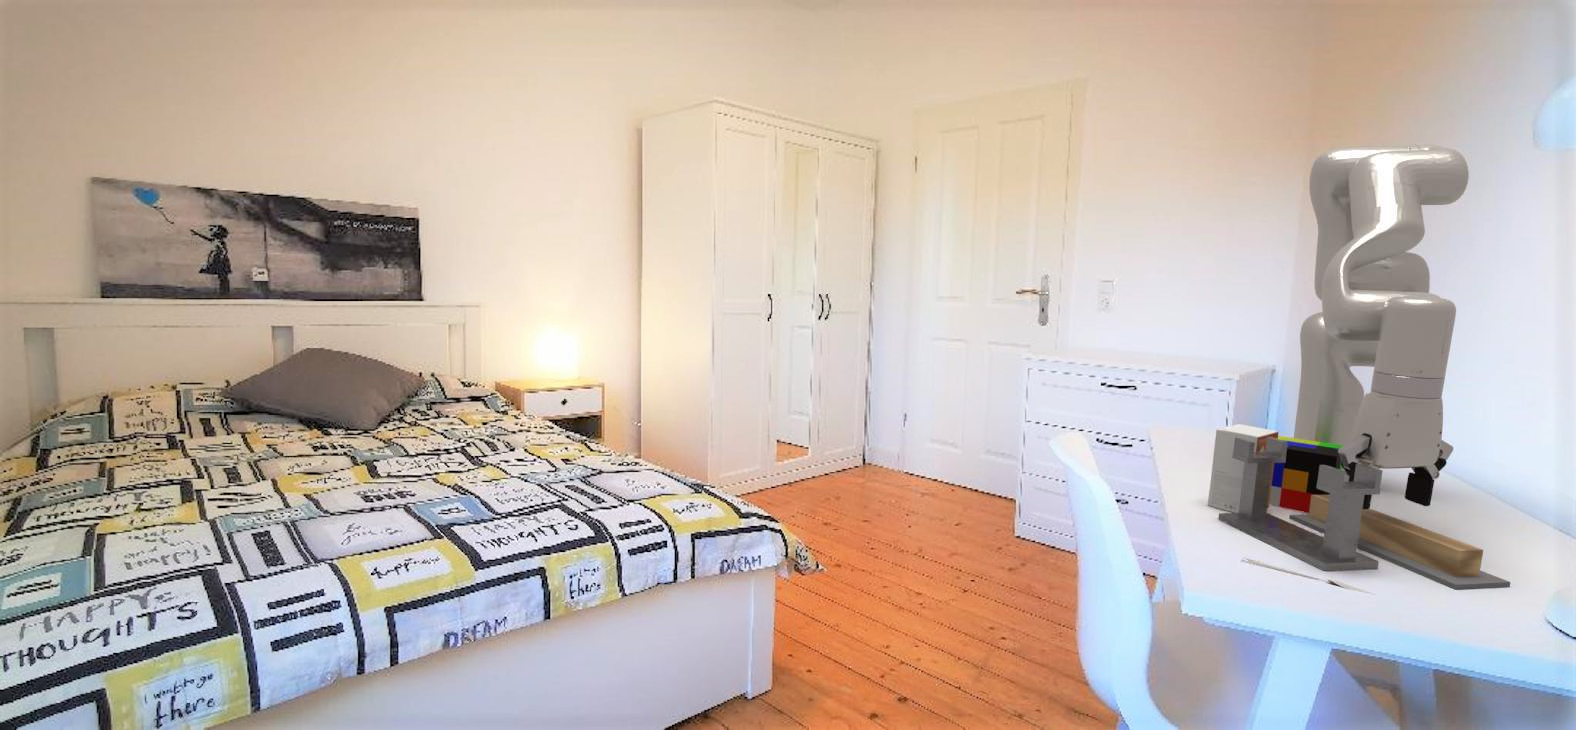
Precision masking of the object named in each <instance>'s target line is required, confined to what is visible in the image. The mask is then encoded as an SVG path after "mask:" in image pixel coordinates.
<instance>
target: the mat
mask: <svg viewBox="0 0 1576 730" xmlns="http://www.w3.org/2000/svg"><path fill="white" fill-rule="evenodd" d="M1288 519H1290V520H1291V521H1292V520H1293V521H1294V522H1296V523H1299V524H1302V525H1304V526H1306V527H1308V528H1310V529H1313V530H1315V531H1318V532H1319V533H1322V534H1325V528H1326V524H1325V523H1323V522H1320V521H1318V520H1316V519H1313V518H1311V517H1309V513H1305V514H1289V518H1288ZM1357 549H1359V550H1362V551H1365V552H1367V553H1369V554H1372V555H1374V556H1376V557H1379V558H1381V559H1383V560H1386V561H1388V562H1391V563H1393V564H1395V565H1396V566H1400V567H1402V568H1404V569H1407V570H1409V571H1411V572H1414V573H1416V574H1419V575H1421V576H1423V577H1425V578H1427V579H1430V580H1433V581H1435V582H1438V583H1439V582H1440V583H1439V584H1442V585H1444V586H1447V587H1449V588H1451V589H1453V590H1468V589H1471V588H1472V589H1487V588H1488V589H1489V588H1505V587H1506V588H1507V587H1511V581H1508V580H1506V579H1504V578H1501V577H1498V576H1497V575H1494V574H1491V573H1488V572H1485V571H1483V570H1481V569H1480V573H1479V576H1469V577H1454V576H1452V575H1449V574H1447V573H1444V572H1442V571H1439V570H1437V569H1435V568H1432V567H1430V566H1427V565H1425V564H1422V563H1420V562H1418V561H1415V560H1413V559H1410V558H1408V557H1405V556H1403V555H1401V554H1398V553H1396V552H1393V551H1391V550H1388V549H1386V548H1384V547H1381V546H1379V545H1376V544H1374V543H1371V542H1369V541H1367V540H1364V539H1362V538H1359V537H1358V544H1357Z"/></svg>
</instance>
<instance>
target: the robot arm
mask: <svg viewBox="0 0 1576 730" xmlns="http://www.w3.org/2000/svg"><path fill="white" fill-rule="evenodd" d="M1469 172H1470V171H1469V166H1468V163H1467V160H1466V159H1465V157H1464V156H1463V154H1461V152H1459V151H1457V150H1456V149H1453V148H1449V147H1443V146H1440V145H1435V144H1418V145H1417V144H1412V145H1411V144H1410V145H1409V144H1408V145H1406V144H1405V145H1376V146H1375V145H1373V146H1372V145H1369V146H1368V145H1366V146H1364V145H1363V146H1350V147H1341V148H1336V149H1331V150H1328V151H1326V152H1323V153H1321V154H1320V155H1319V156H1318V157H1316V159H1315V160H1314V162H1313V164H1312V166H1311V170H1310V174H1309V186H1308V187H1309V196H1310V201H1311V204H1312V209H1313V212H1314V214H1315V218H1316V222H1317V243H1316V255H1315V269H1314V292H1315V295H1316V297H1317V298H1318V299H1319V300H1320V301H1321V307H1322V308H1321V310H1322V311H1320V312H1317V313H1314V314H1311V315H1310V316H1308V317H1307V318H1305V319H1304V321H1303V323H1302V325H1301V328H1300V333H1299V335H1300V336H1299V337H1300V338H1299V342H1300V344H1299V345H1300V354H1301V355H1300V356H1301V357H1300V358H1301V359H1300V361H1301V364H1300V365H1301V368H1300V379H1299V380H1300V381H1299V389H1298V399H1297V400H1298V401H1297V407H1296V409H1297V410H1296V417H1295V424H1294V433H1293V438H1296V439H1303V440H1310V441H1316V442H1323V443H1330V444H1336V445H1343V447H1341V448H1339V450H1338V454H1339V457H1340V460H1341V466H1342V470H1343V471H1345V477H1344V482H1354V475H1355V468H1356V464H1363V465H1366V466H1369V467H1373V468H1376V469H1379V470H1383V469H1384V470H1385V469H1387V470H1388V469H1389V470H1390V469H1409V468H1411V469H1412V472H1408V475H1407V482H1406V487H1405V492H1404V499H1405V500H1407V501H1408V502H1411V503H1415V504H1418V505H1421V506H1423V507H1430V505H1431V502H1432V495H1433V490H1434V485H1435V480H1437V479H1439V477H1440V471H1441V470H1443V468H1444V467H1446V466H1447V464H1448V463H1447V460H1448V459H1449V458H1450V457H1451V454H1452V453H1453V451H1454V446H1453V445H1451V444H1449V443H1448V442H1446V441H1444V440H1443V439H1442V437H1443V427H1444V426H1443V425H1444V404H1443V398H1442V395H1443V391H1444V387H1445V380H1446V373H1447V367H1448V366H1447V365H1448V360H1449V356H1450V351H1451V345H1452V337H1453V333H1454V327H1455V323H1456V322H1455V321H1456V315H1457V308H1456V305H1455V303H1454V302H1453V301H1452V300H1450V299H1448V298H1442V297H1440V296H1439V295H1437V294H1434V293H1431V292H1430V285H1431V283H1430V281H1431V276H1430V269H1429V266H1428V263H1427V261H1426V260H1425V259H1424V257H1422V256H1421V255H1419V254H1417V253H1413V252H1409V251H1410V250H1412V249H1414V248H1415V247H1416V246H1417V245H1419V244H1420V242H1421V241H1423V239H1424V237H1425V233H1426V232H1425V231H1426V230H1425V229H1426V226H1425V223H1424V215H1423V209H1422V206H1446V205H1452V204H1453V203H1455V202H1456V201H1458V200H1459V199H1460V198H1462V196H1463V195H1464V193H1465V191H1466V189H1467V187H1468V183H1469V178H1470V176H1469V175H1470V173H1469ZM1352 367H1370V368H1371V367H1372V368H1373V374H1372V379H1371V386H1370V391H1369V393H1368V392H1367V393H1365V389H1364V387H1363V384H1362V383H1361V381H1360V380H1359V379H1358V378H1357V377H1356V376H1355V375H1354V373H1353V372H1352V370H1351V368H1352ZM1372 496H1373V495H1364V502H1363V509H1369V508H1370V507H1371V504H1372V503H1371V502H1372ZM1370 509H1371V508H1370Z"/></svg>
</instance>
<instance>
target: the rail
mask: <svg viewBox="0 0 1576 730" xmlns="http://www.w3.org/2000/svg"><path fill="white" fill-rule="evenodd" d="M1329 499H1330V495H1311V502H1310V510H1309V513H1308V514H1309V517H1311V518H1313V519H1316V520H1318V521H1320V522H1323V523H1325V524H1326V521H1327V513H1328V506H1329ZM1359 538H1362V539H1364V540H1367V541H1369V542H1371V543H1374V544H1376V545H1379V546H1381V547H1384V548H1386V549H1388V550H1391V551H1393V552H1396V553H1398V554H1401V555H1403V556H1405V557H1408V558H1410V559H1413V560H1415V561H1418V562H1420V563H1422V564H1425V565H1427V566H1430V567H1432V568H1435V569H1437V570H1439V571H1442V572H1444V573H1447V574H1449V575H1452V576H1454V577H1469V576H1479V573H1480V570H1481V566H1482V561H1483V554H1484V549H1482V548H1479V547H1477V546H1475V545H1471V544H1468V543H1466V542H1463V541H1461V540H1459V539H1458V540H1457V539H1454V538H1452V537H1449V536H1446V535H1443V534H1441V533H1438V532H1435V531H1432V530H1431V529H1430V530H1429V529H1427V528H1426V527H1425V528H1424V527H1422V526H1418V525H1415V524H1413V523H1410V522H1409V521H1405V520H1403V519H1400V518H1397V517H1394V516H1391V515H1389V514H1386V513H1383V512H1381V511H1377V510H1376V509H1372V508H1369V509H1362V516H1361V523H1360V530H1359Z"/></svg>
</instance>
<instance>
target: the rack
mask: <svg viewBox="0 0 1576 730" xmlns="http://www.w3.org/2000/svg"><path fill="white" fill-rule="evenodd" d="M1287 444H1288V442H1286V441H1283V440H1280V439H1276V438H1273V437H1267V442H1266V451H1265V452H1254V446H1255V442H1252V441H1249V440H1246V439H1243V438H1240V437H1239V438H1235V442H1234V450H1233V457H1232V458H1234V459H1237V460H1239V461H1242V462H1245V463H1244V471H1243V480H1242V488H1241V497H1240V505H1239V513H1234V512H1223V513H1222V512H1220V513H1218V518H1217V519H1219V520H1218V521H1220V520H1221V522H1222V521H1224V522H1226V523H1227V524H1226V523H1225V524H1226V525H1229V526H1230V527H1233V528H1235V529H1237V528H1238V529H1237V530H1238V531H1241V532H1243V531H1244V533H1245V532H1246V533H1245V534H1247V533H1248V534H1247V535H1250V536H1251V535H1252V536H1251V537H1253V536H1254V537H1253V538H1255V539H1257V538H1258V540H1259V541H1261V542H1264V543H1266V544H1268V545H1270V546H1272V547H1273V548H1276V549H1278V550H1280V551H1283V552H1285V553H1286V554H1288V555H1291V556H1293V557H1294V558H1297V559H1299V560H1300V561H1303V562H1304V563H1307V564H1309V565H1311V566H1313V567H1315V568H1318V570H1321V571H1323V572H1331V571H1332V572H1333V571H1352V570H1355V571H1356V570H1373V569H1376V570H1378V568H1379V560H1378V559H1377V560H1376V559H1374V558H1372V557H1369V556H1367V555H1365V554H1362V553H1361V552H1359V551H1358V550H1357V549H1358V548H1357V544H1358V537H1359V530H1360V523H1361V516H1362V509H1363V502H1364V495H1372V496H1373V495H1380V492H1381V485H1382V484H1381V483H1382V478H1383V477H1382V476H1383V469H1376V468H1373V467H1369V466H1366V465H1363V464H1356V468H1355V475H1354V482H1344V477H1345V471H1343V470H1340V469H1337V468H1333V467H1330V466H1327V465H1320V466H1319V474H1318V482H1317V487H1316V488H1317V489H1320V490H1322V491H1325V492H1328V493H1330V499H1329V506H1328V513H1327V521H1326V528H1325V533H1324V535H1323V536H1321V535H1318V534H1317V533H1315V532H1312V531H1310V530H1307V529H1305V528H1303V527H1300V526H1298V525H1296V524H1293V523H1291V522H1289V521H1287V520H1284V519H1282V518H1281V517H1278V516H1275V515H1273V514H1270V513H1268V512H1267V511H1268V508H1267V504H1268V496H1269V487H1270V479H1271V471H1272V463H1285V462H1286V452H1287ZM1224 522H1223V523H1224Z"/></svg>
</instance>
